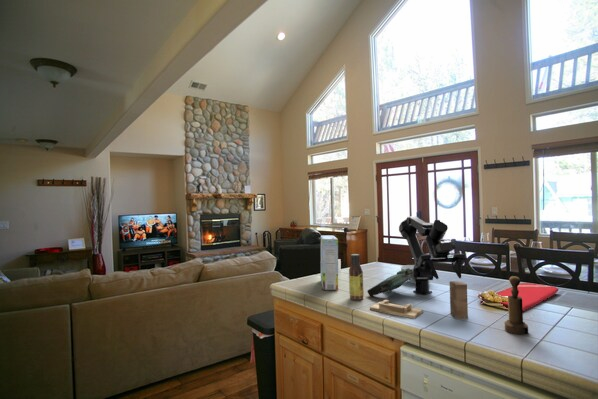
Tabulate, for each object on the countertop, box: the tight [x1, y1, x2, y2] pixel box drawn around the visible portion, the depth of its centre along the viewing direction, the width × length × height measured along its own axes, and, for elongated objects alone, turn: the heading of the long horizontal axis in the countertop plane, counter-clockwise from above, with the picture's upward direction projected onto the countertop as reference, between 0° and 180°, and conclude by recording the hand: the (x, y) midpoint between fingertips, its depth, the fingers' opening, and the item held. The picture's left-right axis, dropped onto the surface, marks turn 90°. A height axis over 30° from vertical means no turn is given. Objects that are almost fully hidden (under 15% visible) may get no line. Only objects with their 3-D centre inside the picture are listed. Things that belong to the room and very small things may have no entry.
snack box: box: [320, 234, 339, 291], centre depth 175 cm, size 22×9×26 cm, turn 179°
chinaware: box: [400, 264, 416, 284], centre depth 178 cm, size 15×15×8 cm
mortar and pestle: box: [504, 275, 529, 336], centre depth 109 cm, size 7×6×18 cm
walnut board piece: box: [449, 280, 469, 320], centre depth 124 cm, size 5×4×12 cm
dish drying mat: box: [479, 282, 559, 312], centre depth 144 cm, size 16×41×4 cm, turn 125°
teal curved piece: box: [367, 268, 413, 297], centre depth 154 cm, size 20×6×20 cm
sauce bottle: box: [348, 253, 365, 301], centre depth 150 cm, size 6×6×20 cm
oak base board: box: [369, 299, 424, 319], centre depth 132 cm, size 10×18×3 cm, turn 52°
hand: (449, 278), depth 131 cm, fingers open, 9 cm apart
